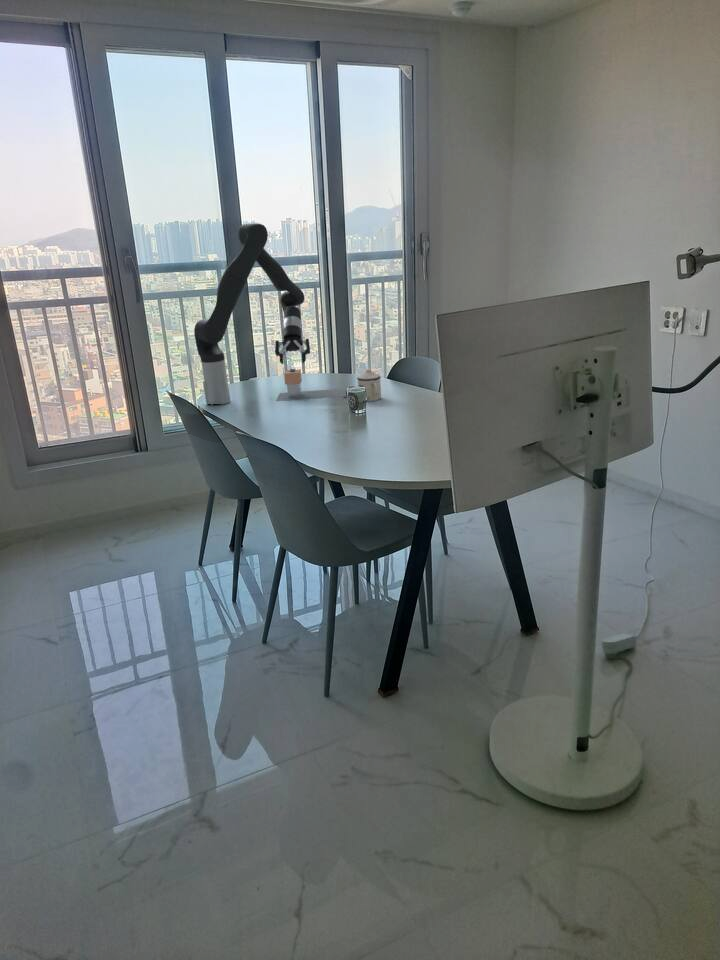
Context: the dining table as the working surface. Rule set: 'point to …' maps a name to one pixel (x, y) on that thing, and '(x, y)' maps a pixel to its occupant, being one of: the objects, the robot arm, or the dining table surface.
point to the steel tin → (294, 390)
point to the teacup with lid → (370, 384)
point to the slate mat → (314, 394)
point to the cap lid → (292, 376)
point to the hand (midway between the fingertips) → (292, 362)
